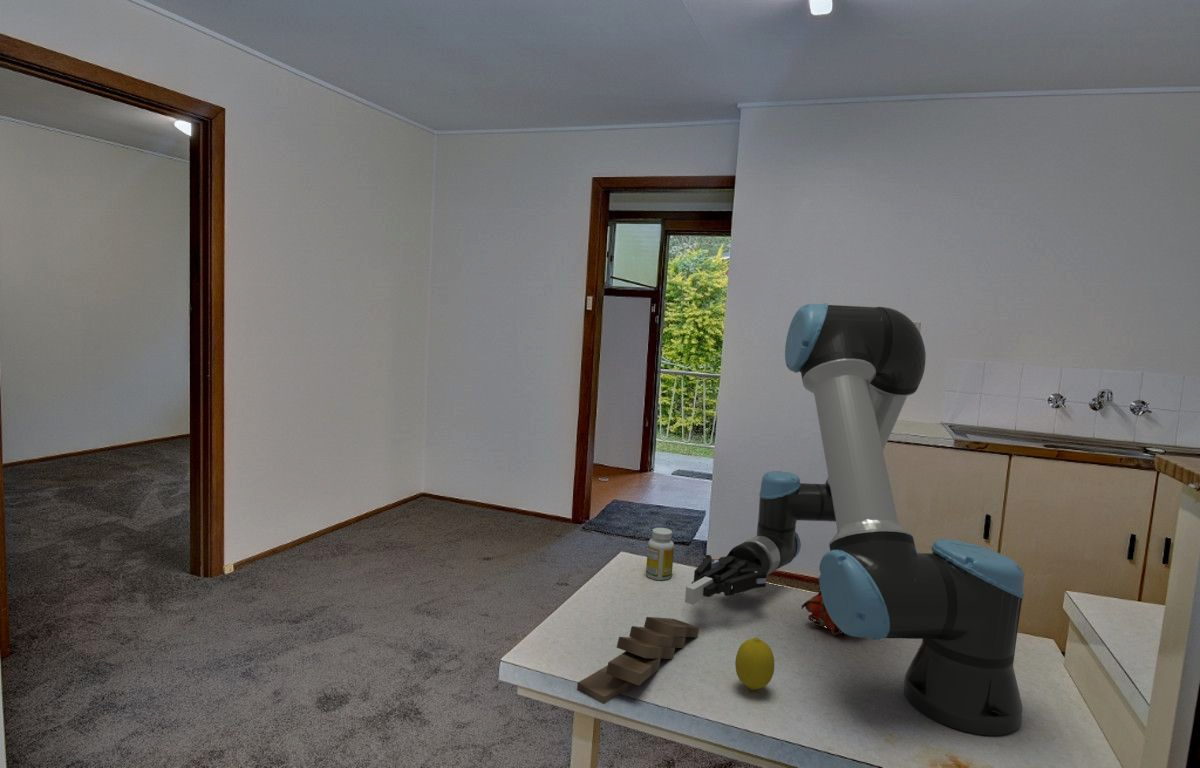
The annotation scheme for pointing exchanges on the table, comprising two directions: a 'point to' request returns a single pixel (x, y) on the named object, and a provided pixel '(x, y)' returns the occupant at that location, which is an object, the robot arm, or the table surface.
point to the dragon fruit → (820, 613)
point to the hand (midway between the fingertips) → (689, 595)
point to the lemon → (754, 663)
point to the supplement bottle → (660, 554)
